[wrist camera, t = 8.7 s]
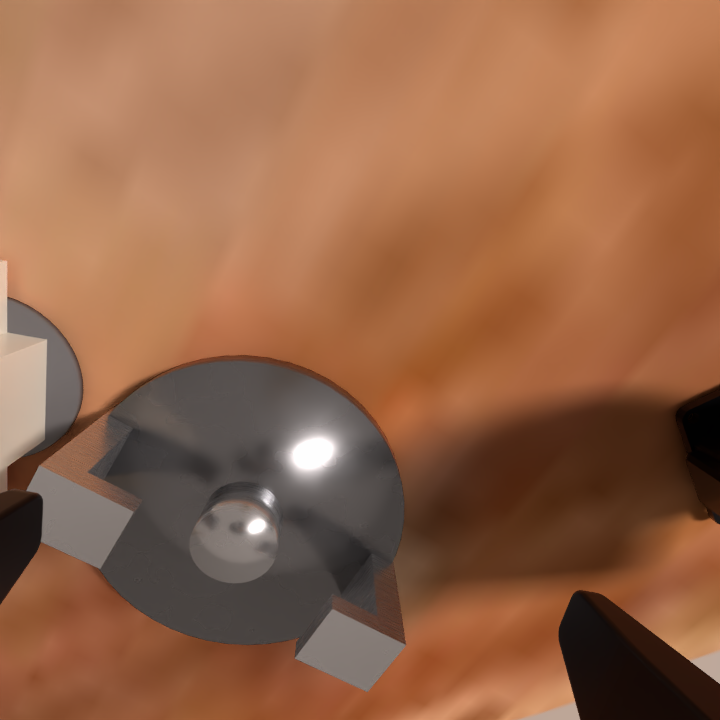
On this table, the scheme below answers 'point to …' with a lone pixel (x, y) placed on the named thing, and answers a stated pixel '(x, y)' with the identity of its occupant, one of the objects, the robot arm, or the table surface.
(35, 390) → the cream block with tab
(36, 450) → the rubber pad
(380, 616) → the lugged metal disc
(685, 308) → the table surface
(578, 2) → the table surface
